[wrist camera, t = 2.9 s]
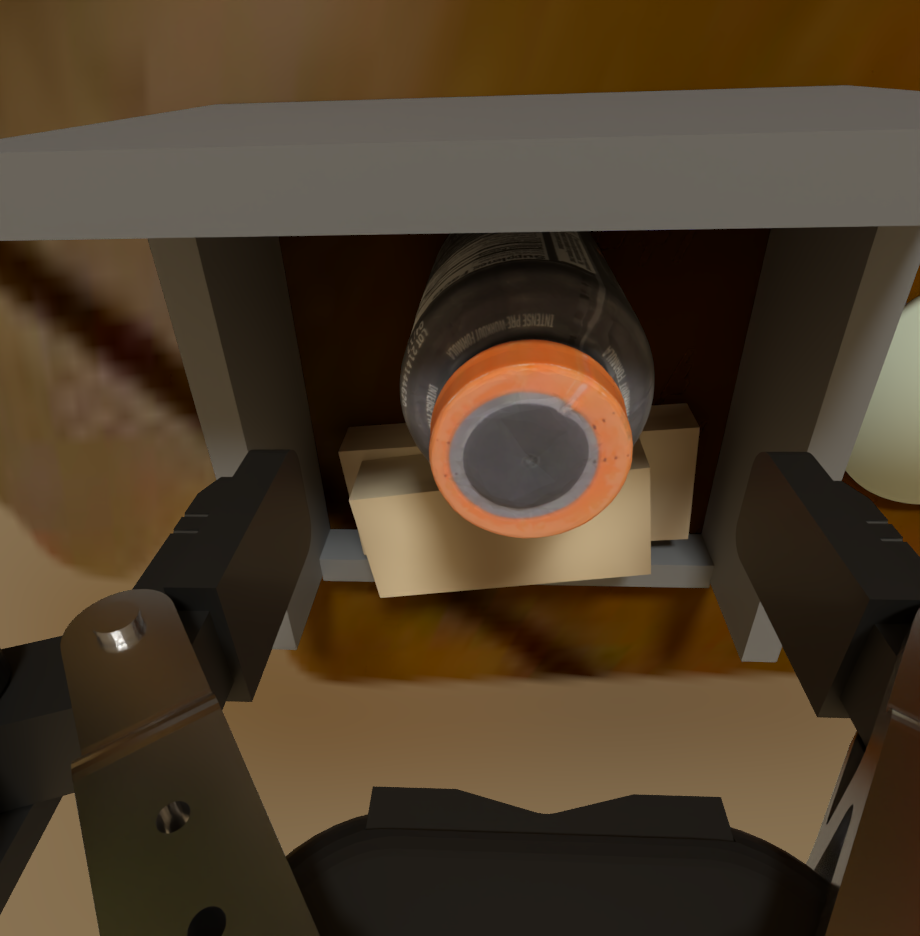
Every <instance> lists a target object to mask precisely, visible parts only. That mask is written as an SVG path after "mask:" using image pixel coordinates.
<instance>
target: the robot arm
mask: <svg viewBox="0 0 920 936" xmlns="http://www.w3.org/2000/svg"><path fill="white" fill-rule="evenodd" d="M887 521H888V520H887V519H886V517H885V516H884V515H883V514H882V513H881V512H880V510H879V509H878V508H877V507H876V506H875V505H874V503H873V502H872V501H871V500H870V499H869V498H867V497H866V496H864V495H863V494H861V493H860V492H858V491H857V490H855V489H853V488H852V487H850V486H849V485H847V484H846V483H844V482H842V481H833V480H832V478H831V477H830V476H829V475H828V473H827V472H826V471H825V470H824V468H823V467H822V466H821V465H820V463H819V462H818V461H817V460H816V459H815V457H814V456H813V455H812V454H811V453H809V452H760V453H759V454H758V455H757V456H756V458H755V460H754V462H753V465H752V468H751V472H750V476H749V480H748V484H747V487H746V491H745V495H744V499H743V502H742V506H741V510H740V514H739V517H738V521H737V526H736V547H737V553H738V556H739V559H740V561H741V563H742V565H743V567H744V569H745V571H746V573H747V575H748V577H749V579H750V581H751V584H752V586H753V588H754V590H755V592H756V594H757V596H758V598H759V600H760V602H761V604H762V606H763V608H764V610H765V612H766V614H767V616H768V618H769V620H770V622H771V624H772V626H773V628H774V630H775V632H776V634H777V636H778V638H779V640H780V642H781V644H782V647H783V649H784V651H785V653H786V655H787V657H788V659H789V661H790V663H791V665H792V667H793V669H794V671H795V673H796V675H797V677H798V679H799V681H800V683H801V685H802V687H803V689H804V691H805V693H806V695H807V697H808V699H809V701H810V703H811V705H812V707H813V709H814V712H815V714H816V716H817V717H828V718H831V717H832V718H851V720H852V722H853V724H854V726H855V728H856V730H857V731H856V733H855V735H854V737H853V739H852V741H851V743H850V745H849V748H848V751H847V754H846V757H845V759H844V762H843V765H842V768H841V771H840V774H839V777H838V779H837V782H836V785H835V788H834V791H833V794H832V797H831V799H830V802H829V805H828V808H827V811H826V814H825V817H824V820H823V822H822V825H821V828H820V831H819V834H818V837H817V839H816V842H815V844H814V847H813V849H812V852H811V854H810V856H809V859H808V861H807V863H806V864H804V863H803V862H801V861H800V860H798V859H797V858H795V857H794V856H792V855H791V854H789V853H787V852H786V851H784V850H782V849H780V848H778V847H776V846H775V845H773V844H771V843H769V842H767V841H765V840H763V839H760V838H758V837H756V836H753V835H751V834H748V833H745V832H743V831H741V830H738V829H734V828H731V827H730V825H729V822H728V819H727V816H726V812H725V809H724V806H723V803H722V799H721V797H699V796H664V795H630V796H625V797H621V798H617V799H613V800H609V801H605V802H600V803H596V804H592V805H588V806H584V807H579V808H575V809H571V810H567V811H563V812H558V813H554V814H541V813H536V812H532V811H529V810H525V809H522V808H519V807H515V806H512V805H508V804H505V803H502V802H498V801H495V800H492V799H488V798H485V797H481V796H478V795H475V794H471V793H468V792H464V791H461V790H458V789H433V788H400V787H373V789H372V795H371V801H370V807H369V813H368V815H364V816H360V817H356V818H353V819H351V820H348V821H345V822H343V823H340V824H337V825H335V826H333V827H331V828H329V829H327V830H325V831H323V832H321V833H319V834H317V835H315V836H313V837H312V838H311V839H309V840H308V841H306V842H304V843H303V844H301V845H300V846H298V847H297V848H295V849H294V850H293V851H292V852H290V853H289V854H288V855H287V856H286V857H285V854H284V852H283V850H282V848H281V845H280V843H279V841H278V838H277V836H276V834H275V831H274V829H273V827H272V824H271V822H270V820H269V817H268V815H267V813H266V811H265V808H264V806H263V804H262V801H261V799H260V797H259V794H258V792H257V790H256V788H255V785H254V783H253V781H252V778H251V776H250V774H249V771H248V769H247V767H246V765H245V762H244V760H243V758H242V755H241V753H240V751H239V748H238V746H237V744H236V741H235V739H234V737H233V734H232V732H231V730H230V728H229V725H228V723H227V721H226V719H225V716H224V714H223V712H222V709H223V707H224V705H225V702H226V701H241V702H243V701H244V702H252V700H253V697H254V695H255V692H256V690H257V687H258V684H259V682H260V679H261V677H262V674H263V671H264V668H265V666H266V663H267V661H268V658H269V655H270V653H271V650H272V648H273V645H274V642H275V640H276V637H277V634H278V632H279V629H280V626H281V624H282V621H283V619H284V616H285V613H286V611H287V608H288V605H289V603H290V600H291V597H292V595H293V592H294V589H295V587H296V584H297V582H298V579H299V576H300V574H301V571H302V568H303V566H304V563H305V560H306V558H307V555H308V552H309V548H310V542H311V520H310V514H309V509H308V504H307V499H306V493H305V488H304V483H303V478H302V473H301V467H300V462H299V458H298V455H297V453H296V452H295V451H294V450H290V449H252V450H250V451H249V452H248V453H247V455H246V456H245V458H244V459H243V461H242V463H241V464H240V466H239V467H238V469H237V470H236V472H235V474H234V475H233V477H220V478H219V479H217V480H216V481H215V482H213V483H212V484H211V485H209V486H208V487H206V488H205V489H204V490H202V491H201V492H200V493H198V494H197V496H196V497H195V499H194V500H193V502H192V503H191V505H190V506H189V507H188V509H187V510H186V512H185V517H182V518H181V519H180V521H179V522H178V524H177V525H176V526H175V528H174V533H173V534H170V535H169V537H168V538H167V540H166V541H165V542H164V544H163V545H162V547H161V548H160V550H159V551H158V553H157V554H156V556H155V557H154V559H153V560H152V561H151V563H150V564H149V566H148V567H147V569H146V570H145V572H144V573H143V575H142V576H141V577H140V579H139V580H138V582H137V583H136V585H135V586H134V588H133V589H132V590H128V591H123V592H119V593H116V594H113V595H110V596H108V597H106V598H103V599H101V600H99V601H97V602H96V603H94V604H92V605H91V606H89V607H87V608H86V609H85V610H83V611H82V612H81V613H80V614H78V615H77V616H76V617H75V618H74V620H72V622H71V623H70V624H69V625H68V627H67V628H66V630H65V632H64V634H63V636H59V637H55V638H50V639H46V640H42V641H37V642H33V643H28V644H23V645H19V646H15V647H10V648H5V649H0V914H1V912H2V910H3V908H4V907H5V905H6V903H7V901H8V899H9V897H10V895H11V893H12V891H13V889H14V888H15V886H16V884H17V882H18V880H19V878H20V876H21V874H22V872H23V870H24V869H25V867H26V864H27V863H28V861H29V859H30V857H31V855H32V853H33V851H34V849H35V848H36V846H37V844H38V842H39V840H40V838H41V836H42V834H43V832H44V831H45V829H46V827H47V825H48V823H49V821H50V819H51V817H52V815H53V813H54V812H55V809H56V807H57V806H58V804H59V802H60V800H61V798H62V796H64V795H67V794H71V793H75V798H76V804H77V809H78V815H79V821H80V826H81V831H82V838H83V843H84V849H85V854H86V860H87V866H88V871H89V877H90V882H91V888H92V894H93V899H94V904H95V911H96V916H97V922H98V928H99V933H100V936H920V557H919V556H918V555H917V554H916V552H915V551H914V550H913V549H912V548H911V547H910V545H909V544H908V543H907V542H903V541H902V538H903V537H902V536H901V535H900V534H899V533H898V531H897V530H896V529H895V528H894V527H893V526H892V524H888V523H887Z"/></svg>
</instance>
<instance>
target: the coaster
mask: <svg viewBox="0 0 920 936" xmlns="http://www.w3.org/2000/svg"><path fill="white" fill-rule="evenodd" d="M845 471H846V472H847V473H848V474H849V475H850V477H852V478H853V479H854V480H855V481H856V482H857V483H858V484H859V485H860V486H862V487H863V488H865V489H866V490H868V491H869V492H871V493H874V494H876V495H878V496H880V497H883V498H886V499H889V500H892V501H896V502H902V503H908V504H920V296H918V297H916V298H915V299H913V300H912V301H910V302H909V303H907V304H906V305H905V306H904V309H903V311H902V314H901V317H900V320H899V323H898V325H897V328H896V331H895V334H894V336H893V339H892V342H891V345H890V348H889V350H888V353H887V356H886V359H885V361H884V364H883V367H882V370H881V373H880V375H879V378H878V381H877V384H876V386H875V389H874V392H873V395H872V398H871V400H870V403H869V406H868V409H867V411H866V414H865V417H864V420H863V423H862V425H861V428H860V431H859V434H858V436H857V439H856V442H855V445H854V448H853V450H852V453H851V456H850V459H849V461H848V464H847V467H846V470H845Z"/></svg>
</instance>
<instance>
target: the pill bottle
mask: <svg viewBox="0 0 920 936" xmlns="http://www.w3.org/2000/svg"><path fill="white" fill-rule="evenodd" d="M654 378H655V373H654V362H653V357H652V353H651V349H650V345H649V342H648V340H647V337H646V335H645V333H644V330H643V328H642V326H641V324H640V322H639V319H638V318H637V316H636V314H635V313H634V311H633V309H632V307H631V305H630V303H629V302H628V300H627V298H626V296H625V294H624V292H623V290H622V288H621V287H620V285H619V283H618V282H617V280H616V278H615V276H614V274H613V272H612V271H611V269H610V267H609V266H608V264H607V262H606V260H605V258H604V256H603V254H602V252H601V251H600V249H599V247H598V245H597V244H596V242H595V240H594V239H593V237H592V236H591V234H590V233H589V231H560V232H499V233H450V234H449V236H448V237H447V238H446V240H445V242H444V243H443V245H442V247H441V249H440V251H439V253H438V255H437V257H436V260H435V263H434V265H433V268H432V270H431V273H430V276H429V279H428V281H427V284H426V287H425V290H424V293H423V296H422V299H421V302H420V305H419V308H418V311H417V314H416V318H415V321H414V325H413V329H412V332H411V335H410V338H409V341H408V344H407V347H406V350H405V354H404V357H403V361H402V365H401V374H400V401H401V407H402V412H403V416H404V419H405V422H406V425H407V427H408V430H409V432H410V434H411V436H412V438H413V440H414V442H415V444H416V445H417V447H418V448H419V450H420V451H421V453H422V454H423V455H424V457H425V458H426V459H427V460H428V462H429V463H430V467H431V471H432V474H433V478H434V480H435V482H436V485H437V487H438V489H439V491H440V492H441V494H442V495H443V497H444V498H445V500H446V501H447V502H448V503H449V505H450V506H451V507H452V508H453V510H454V511H456V512H457V513H458V514H459V515H461V516H462V517H463V518H464V519H466V520H467V521H469V522H470V523H472V524H474V525H476V526H477V527H479V528H482V529H484V530H487V531H489V532H492V533H495V534H499V535H504V536H508V537H515V538H541V537H548V536H553V535H557V534H561V533H564V532H567V531H569V530H572V529H574V528H577V527H579V526H581V525H583V524H585V523H587V522H588V521H590V520H592V519H593V518H594V517H596V516H597V515H598V514H599V513H601V512H602V511H603V510H604V509H605V508H606V507H607V506H608V505H609V504H610V503H611V502H612V501H613V500H614V498H615V497H616V496H617V495H618V493H619V492H620V490H621V488H622V486H623V485H624V483H625V481H626V478H627V475H628V473H629V470H630V468H631V463H632V455H633V446H634V445H635V443H636V442H637V440H638V438H639V436H640V434H641V432H642V430H643V428H644V426H645V424H646V422H647V419H648V416H649V413H650V410H651V405H652V401H653V395H654Z"/></svg>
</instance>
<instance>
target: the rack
mask: <svg viewBox="0 0 920 936" xmlns="http://www.w3.org/2000/svg"><path fill="white" fill-rule="evenodd" d="M742 228H771V230H770V234H769V239H768V243H767V247H766V252H765V256H764V261H763V265H762V269H761V274H760V278H759V282H758V287H757V291H756V296H755V300H754V304H753V309H752V313H751V318H750V322H749V326H748V331H747V335H746V340H745V344H744V348H743V353H742V357H741V362H740V366H739V370H738V375H737V379H736V384H735V388H734V392H733V397H732V401H731V406H730V410H729V414H728V419H727V423H726V428H725V432H724V436H723V441H722V445H721V449H720V454H719V458H718V463H717V467H716V471H715V476H714V480H713V485H712V489H711V493H710V498H709V502H708V507H707V511H706V515H705V520H704V524H703V529H702V533H701V534H689V535H688V539H678V540H657V541H651V574H648V575H637V576H625V577H614V578H602V579H591V580H579V581H568V582H557V583H545V584H534V585H574V586H627V587H681V588H709V585H710V583H711V586H712V588H713V591H714V593H715V596H716V599H717V601H718V604H719V606H720V609H721V611H722V614H723V616H724V619H725V621H726V624H727V626H728V629H729V631H730V634H731V637H732V639H733V642H734V644H735V647H736V649H737V652H738V654H739V657H740V659H741V661H752V662H776V661H777V659H778V656H779V653H780V650H781V648H782V644H781V642H780V640H779V638H778V636H777V634H776V632H775V630H774V628H773V626H772V624H771V622H770V620H769V618H768V616H767V614H766V612H765V610H764V608H763V606H762V604H761V602H760V600H759V598H758V596H757V594H756V592H755V590H754V588H753V586H752V584H751V581H750V579H749V577H748V575H747V573H746V571H745V569H744V567H743V565H742V563H741V561H740V559H739V556H738V553H737V547H736V526H737V521H738V517H739V514H740V510H741V506H742V502H743V499H744V495H745V491H746V487H747V484H748V480H749V476H750V472H751V468H752V465H753V462H754V460H755V458H756V456H757V455H758V454H759V453H760V452H809V453H811V454H812V455H813V456H814V457H815V459H816V460H817V461H818V462H819V463H820V465H821V466H822V467H823V468H824V470H825V471H826V472H827V473H828V475H829V476H830V477H831V478H832V480H833V481H842V478H843V475H844V473H845V470H846V467H847V464H848V461H849V459H850V456H851V453H852V450H853V448H854V445H855V442H856V439H857V436H858V434H859V431H860V428H861V425H862V423H863V420H864V417H865V414H866V411H867V409H868V406H869V403H870V400H871V398H872V395H873V392H874V389H875V386H876V384H877V381H878V378H879V375H880V373H881V370H882V367H883V364H884V361H885V359H886V356H887V353H888V350H889V348H890V345H891V342H892V339H893V336H894V334H895V331H896V328H897V325H898V323H899V320H900V317H901V314H902V311H903V309H904V306H905V303H906V300H907V298H908V295H909V292H910V289H911V286H912V284H913V281H914V278H915V275H916V273H917V270H918V267H919V264H920V91H911V90H899V89H886V88H873V87H860V86H848V85H844V86H811V87H778V88H745V89H712V90H679V91H645V92H612V93H579V94H546V95H513V96H480V97H447V98H413V99H380V100H347V101H314V102H281V103H248V104H216V105H210V106H203V107H197V108H191V109H185V110H178V111H172V112H166V113H160V114H153V115H147V116H141V117H135V118H128V119H122V120H116V121H110V122H104V123H97V124H91V125H85V126H79V127H72V128H66V129H60V130H54V131H47V132H41V133H35V134H29V135H22V136H16V137H10V138H4V139H0V241H14V240H75V239H135V238H148V242H149V245H150V249H151V252H152V256H153V259H154V263H155V266H156V270H157V273H158V277H159V280H160V284H161V287H162V291H163V294H164V298H165V301H166V305H167V308H168V312H169V315H170V319H171V322H172V326H173V329H174V333H175V336H176V340H177V343H178V347H179V350H180V354H181V357H182V361H183V364H184V368H185V371H186V375H187V378H188V382H189V385H190V389H191V392H192V396H193V399H194V403H195V406H196V410H197V413H198V417H199V420H200V424H201V427H202V431H203V434H204V438H205V441H206V445H207V448H208V452H209V455H210V459H211V462H212V466H213V469H214V473H215V476H216V480H217V479H219V478H220V477H233V475H234V474H235V472H236V470H237V469H238V467H239V466H240V464H241V463H242V461H243V459H244V458H245V456H246V455H247V453H248V452H249V451H250V450H252V449H290V450H294V451H295V452H296V453H297V455H298V458H299V462H300V467H301V473H302V478H303V483H304V488H305V493H306V499H307V504H308V509H309V514H310V520H311V542H310V548H309V552H308V555H307V558H306V560H305V563H304V566H303V568H302V571H301V574H300V576H299V579H298V582H297V584H296V587H295V589H294V592H293V595H292V597H291V600H290V603H289V605H288V608H287V611H286V613H285V616H284V619H283V621H282V624H281V626H280V629H279V632H278V634H277V637H276V640H275V642H274V645H273V648H272V649H288V650H297V647H298V644H299V641H300V639H301V636H302V633H303V630H304V627H305V624H306V621H307V619H308V616H309V613H310V610H311V607H312V604H313V601H314V599H315V596H316V593H317V590H318V587H319V584H320V581H321V579H322V576H323V580H324V581H361V582H375V580H374V577H373V574H372V571H371V568H370V564H369V561H368V558H367V555H364V553H363V549H362V545H361V541H360V537H359V533H358V530H353V529H330V524H329V518H328V513H327V507H326V501H325V496H324V490H323V485H322V479H321V473H320V468H319V462H318V456H317V451H316V445H315V439H314V434H313V428H312V422H311V417H310V411H309V406H308V400H307V394H306V389H305V383H304V377H303V372H302V366H301V360H300V355H299V349H298V343H297V338H296V332H295V326H294V321H293V315H292V310H291V304H290V298H289V293H288V287H287V281H286V276H285V270H284V264H283V259H282V253H281V247H280V242H279V236H317V235H378V234H438V233H499V232H560V231H620V230H681V229H742Z"/></svg>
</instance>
